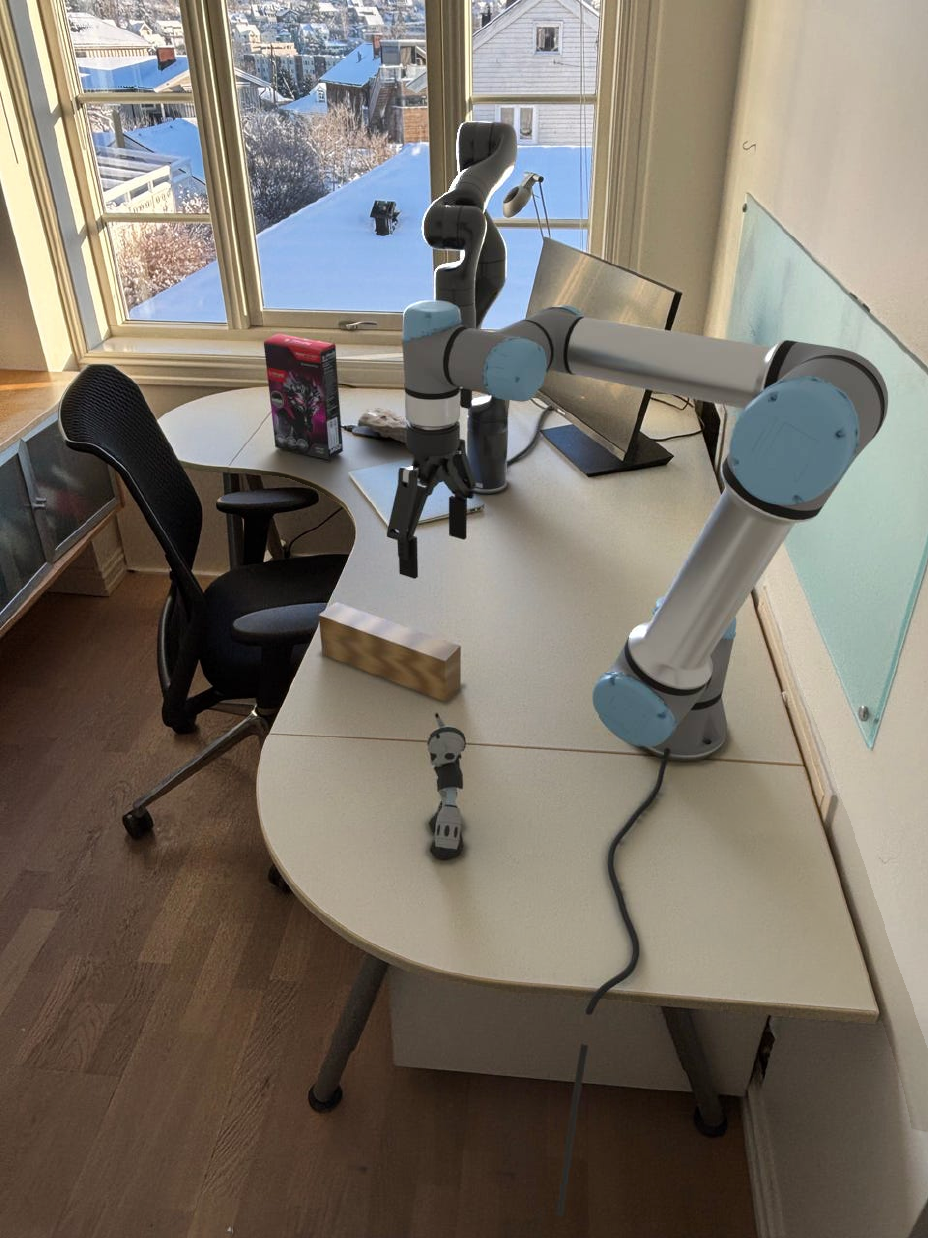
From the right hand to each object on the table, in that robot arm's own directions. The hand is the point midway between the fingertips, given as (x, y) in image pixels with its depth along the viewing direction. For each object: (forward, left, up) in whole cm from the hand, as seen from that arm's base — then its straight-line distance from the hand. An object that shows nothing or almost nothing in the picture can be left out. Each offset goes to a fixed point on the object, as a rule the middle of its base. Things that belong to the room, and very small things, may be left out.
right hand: (434, 555), depth 138 cm
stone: (+97, +40, -25) cm, 108 cm away
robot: (-31, -11, -25) cm, 41 cm away
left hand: (+43, +9, +5) cm, 44 cm away
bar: (+2, +9, -25) cm, 27 cm away
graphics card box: (+83, +58, -25) cm, 104 cm away
